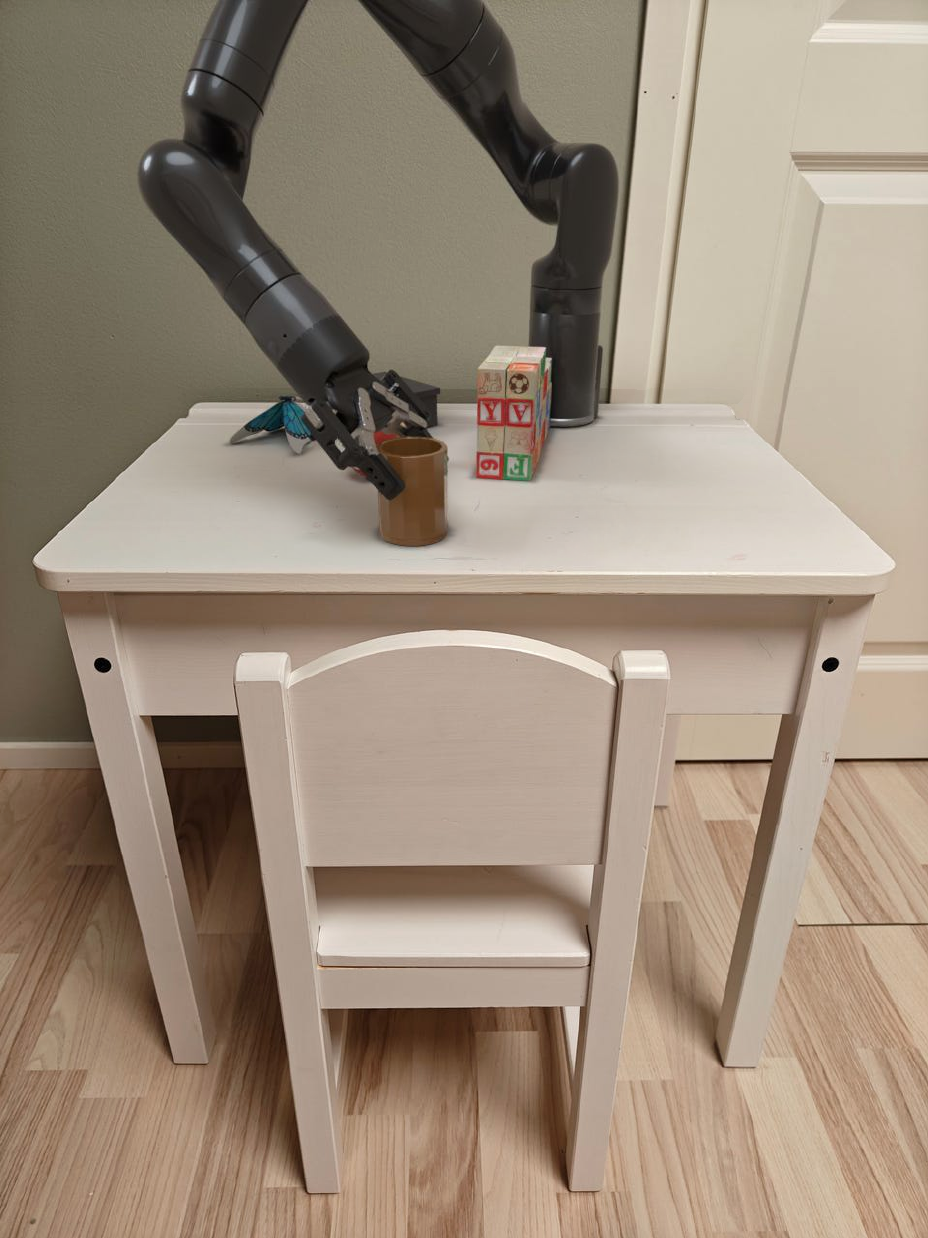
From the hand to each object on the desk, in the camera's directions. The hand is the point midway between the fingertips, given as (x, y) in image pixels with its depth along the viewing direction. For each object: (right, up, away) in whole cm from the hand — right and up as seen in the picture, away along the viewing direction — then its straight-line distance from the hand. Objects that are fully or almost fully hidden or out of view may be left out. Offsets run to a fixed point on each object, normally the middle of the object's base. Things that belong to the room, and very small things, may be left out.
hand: (421, 479), depth 79 cm
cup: (-1, -5, +3) cm, 6 cm away
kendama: (-5, +6, +23) cm, 24 cm away
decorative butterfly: (-19, +10, +30) cm, 37 cm away
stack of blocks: (+10, +7, +26) cm, 29 cm away
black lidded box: (-8, +14, +37) cm, 40 cm away
